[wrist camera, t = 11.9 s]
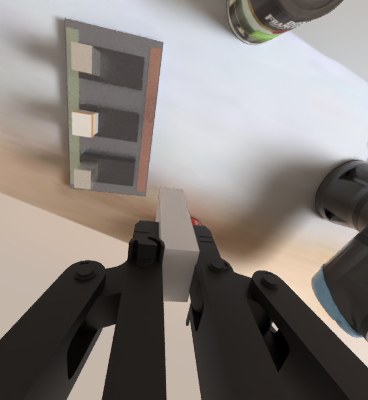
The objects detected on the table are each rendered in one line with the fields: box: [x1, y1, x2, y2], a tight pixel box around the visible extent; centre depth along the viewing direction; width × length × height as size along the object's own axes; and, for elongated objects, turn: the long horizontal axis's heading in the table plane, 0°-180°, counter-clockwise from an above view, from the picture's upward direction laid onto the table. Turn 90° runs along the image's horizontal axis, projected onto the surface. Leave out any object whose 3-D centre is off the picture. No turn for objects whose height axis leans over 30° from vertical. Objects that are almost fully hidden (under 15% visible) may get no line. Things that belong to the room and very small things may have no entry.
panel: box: [65, 18, 163, 196], centre depth 35 cm, size 14×26×9 cm, turn 170°
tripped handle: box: [72, 110, 98, 138], centre depth 33 cm, size 2×3×5 cm
